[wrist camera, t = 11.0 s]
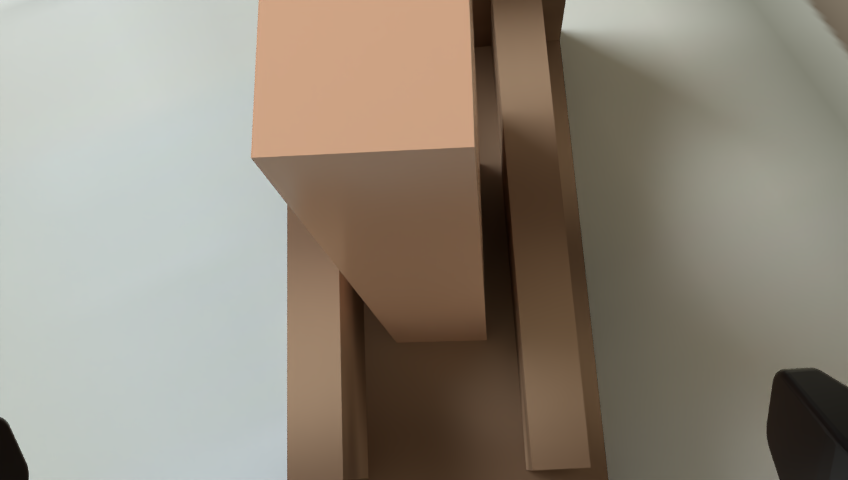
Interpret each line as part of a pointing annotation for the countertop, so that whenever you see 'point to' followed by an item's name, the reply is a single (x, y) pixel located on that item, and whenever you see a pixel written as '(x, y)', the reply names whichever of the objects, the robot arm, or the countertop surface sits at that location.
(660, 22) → the countertop surface
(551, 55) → the drying rack
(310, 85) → the clay strip
